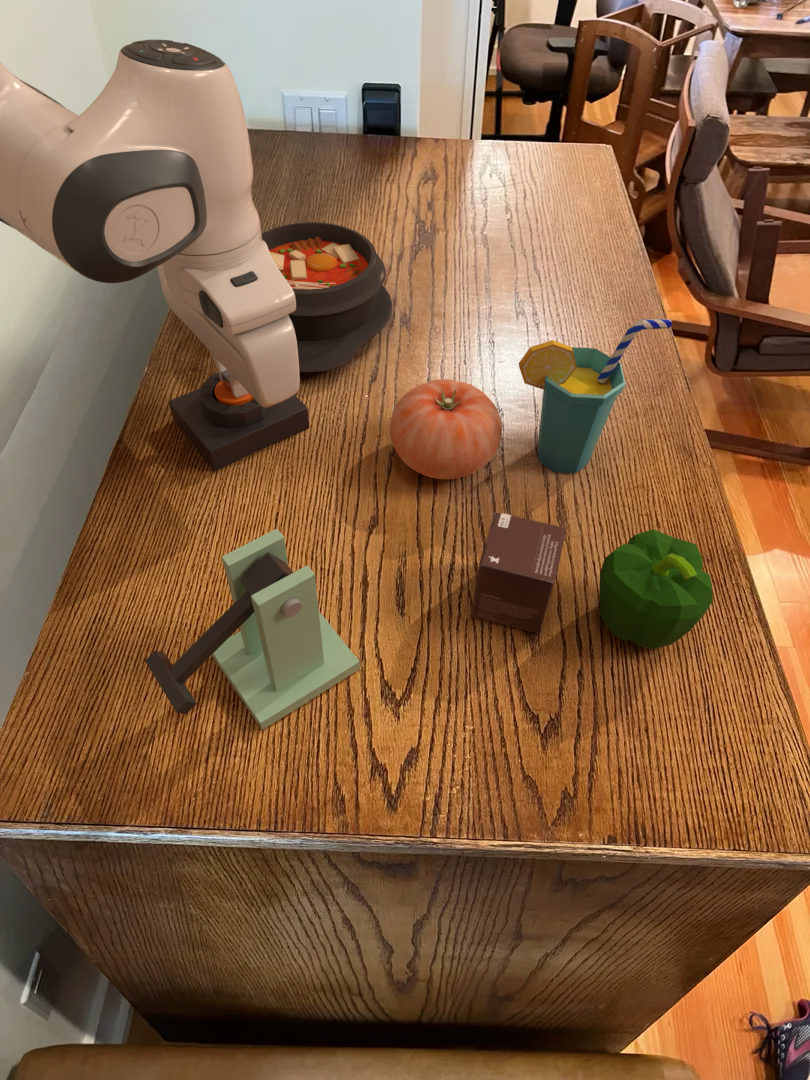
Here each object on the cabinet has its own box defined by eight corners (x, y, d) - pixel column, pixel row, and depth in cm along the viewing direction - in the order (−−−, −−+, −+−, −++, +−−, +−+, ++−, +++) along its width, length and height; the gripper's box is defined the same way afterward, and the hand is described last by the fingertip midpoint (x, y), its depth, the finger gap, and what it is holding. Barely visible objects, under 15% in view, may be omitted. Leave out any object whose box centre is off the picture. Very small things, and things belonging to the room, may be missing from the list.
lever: (192, 716, 53) (169, 711, 51) (160, 665, 56) (138, 658, 54) (312, 595, 53) (295, 585, 51) (275, 549, 55) (257, 538, 53)
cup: (611, 415, 82) (650, 290, 70) (650, 464, 77) (697, 339, 66) (492, 443, 79) (511, 317, 67) (524, 495, 74) (551, 370, 62)
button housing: (214, 471, 75) (206, 437, 72) (173, 421, 80) (163, 386, 76) (309, 427, 79) (306, 393, 76) (265, 382, 84) (260, 348, 80)
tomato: (418, 511, 72) (421, 449, 66) (372, 439, 79) (371, 376, 72) (516, 477, 76) (529, 416, 69) (465, 411, 82) (472, 348, 76)
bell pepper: (577, 584, 67) (603, 508, 60) (669, 580, 68) (705, 504, 60) (600, 668, 62) (631, 596, 54) (699, 662, 63) (743, 591, 55)
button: (229, 420, 75) (226, 407, 74) (210, 399, 77) (207, 385, 76) (264, 405, 77) (262, 391, 76) (245, 384, 79) (242, 370, 78)
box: (539, 636, 64) (554, 584, 58) (469, 618, 65) (477, 565, 59) (552, 580, 68) (567, 526, 62) (485, 564, 69) (495, 509, 63)
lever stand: (261, 730, 58) (237, 639, 48) (211, 656, 62) (179, 557, 52) (360, 669, 61) (356, 572, 52) (306, 602, 65) (293, 501, 56)
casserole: (377, 393, 83) (377, 327, 77) (209, 378, 84) (195, 311, 78) (403, 269, 99) (405, 206, 93) (262, 257, 100) (253, 194, 94)
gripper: (126, 219, 69) (160, 346, 80) (237, 330, 59) (259, 459, 70) (190, 200, 72) (215, 326, 82) (307, 303, 61) (318, 432, 72)
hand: (236, 388), depth 76 cm, fingers closed, pressing on button
